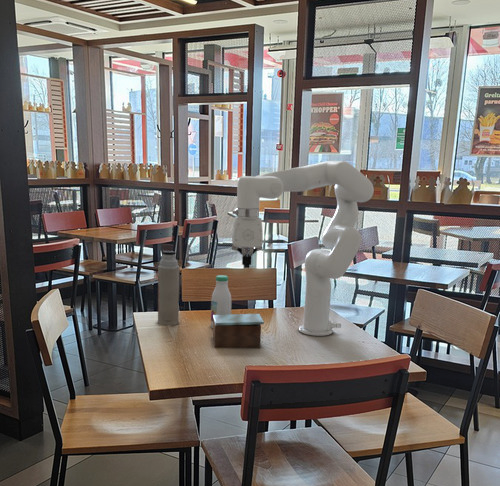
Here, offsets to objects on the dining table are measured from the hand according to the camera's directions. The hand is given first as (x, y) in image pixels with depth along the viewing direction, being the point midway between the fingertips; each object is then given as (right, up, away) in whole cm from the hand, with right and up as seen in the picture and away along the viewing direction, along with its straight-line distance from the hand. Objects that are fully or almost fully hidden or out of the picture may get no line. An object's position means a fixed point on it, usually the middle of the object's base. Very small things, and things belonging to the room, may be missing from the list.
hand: (246, 266), depth 198 cm
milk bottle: (-10, -22, +21) cm, 33 cm away
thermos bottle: (-31, -21, +25) cm, 44 cm away
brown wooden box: (-4, -26, +3) cm, 27 cm away
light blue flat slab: (-3, -19, +1) cm, 19 cm away
